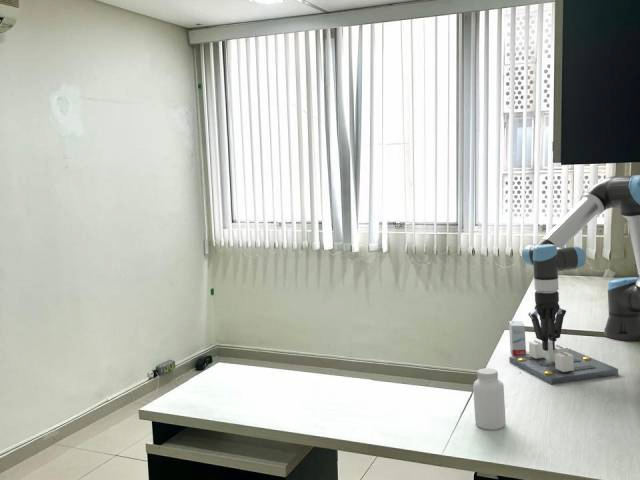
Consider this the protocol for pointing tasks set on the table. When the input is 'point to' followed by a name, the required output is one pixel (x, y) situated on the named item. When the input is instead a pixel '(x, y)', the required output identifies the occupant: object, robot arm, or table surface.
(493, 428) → the pill bottle
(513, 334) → the ink box
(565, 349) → the slider
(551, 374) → the switch unit
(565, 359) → the slider
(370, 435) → the table surface
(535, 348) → the slider
